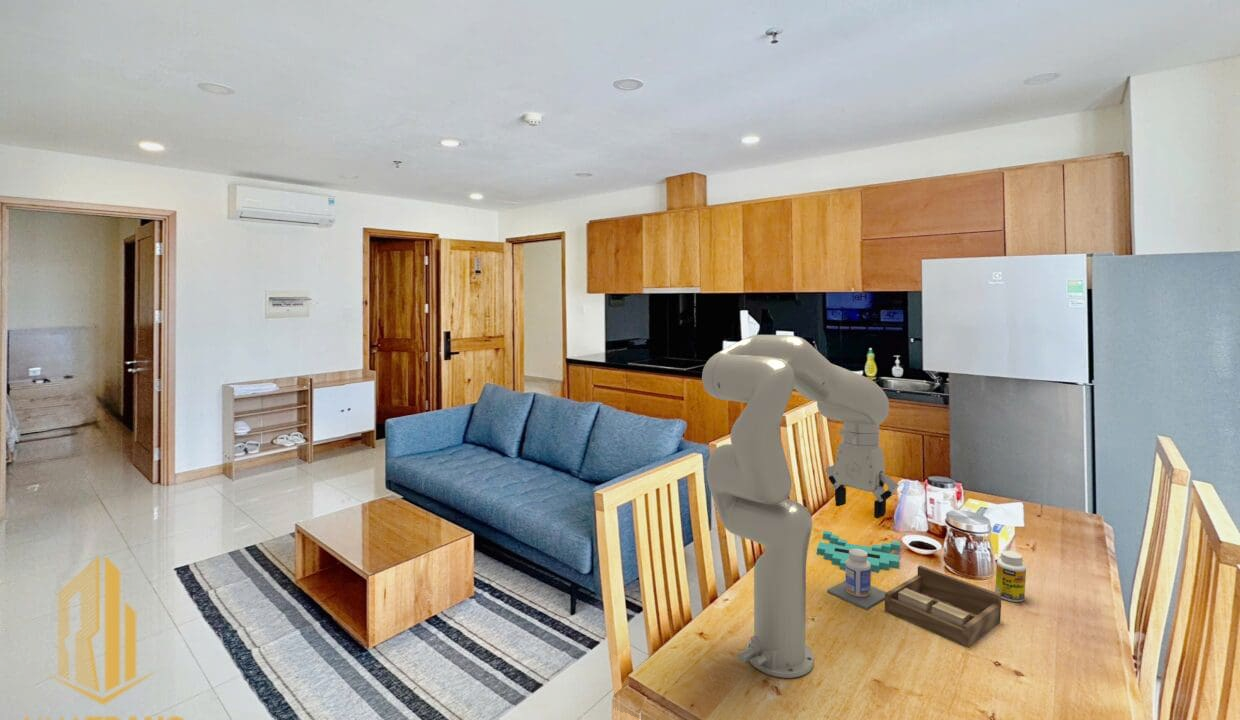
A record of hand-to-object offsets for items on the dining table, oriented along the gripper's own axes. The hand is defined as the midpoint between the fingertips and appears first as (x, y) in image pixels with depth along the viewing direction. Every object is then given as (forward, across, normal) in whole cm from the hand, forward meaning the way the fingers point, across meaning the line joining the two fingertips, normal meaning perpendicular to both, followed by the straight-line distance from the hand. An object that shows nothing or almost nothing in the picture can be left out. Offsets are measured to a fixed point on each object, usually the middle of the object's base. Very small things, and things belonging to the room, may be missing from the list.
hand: (859, 510), depth 129 cm
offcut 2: (+20, +20, +2) cm, 28 cm away
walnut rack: (+20, +16, +6) cm, 26 cm away
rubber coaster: (+20, 0, 0) cm, 20 cm away
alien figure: (+21, -12, +18) cm, 30 cm away
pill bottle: (+20, 0, 0) cm, 20 cm away
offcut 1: (+20, +12, +2) cm, 24 cm away
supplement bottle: (+20, +22, +26) cm, 40 cm away
